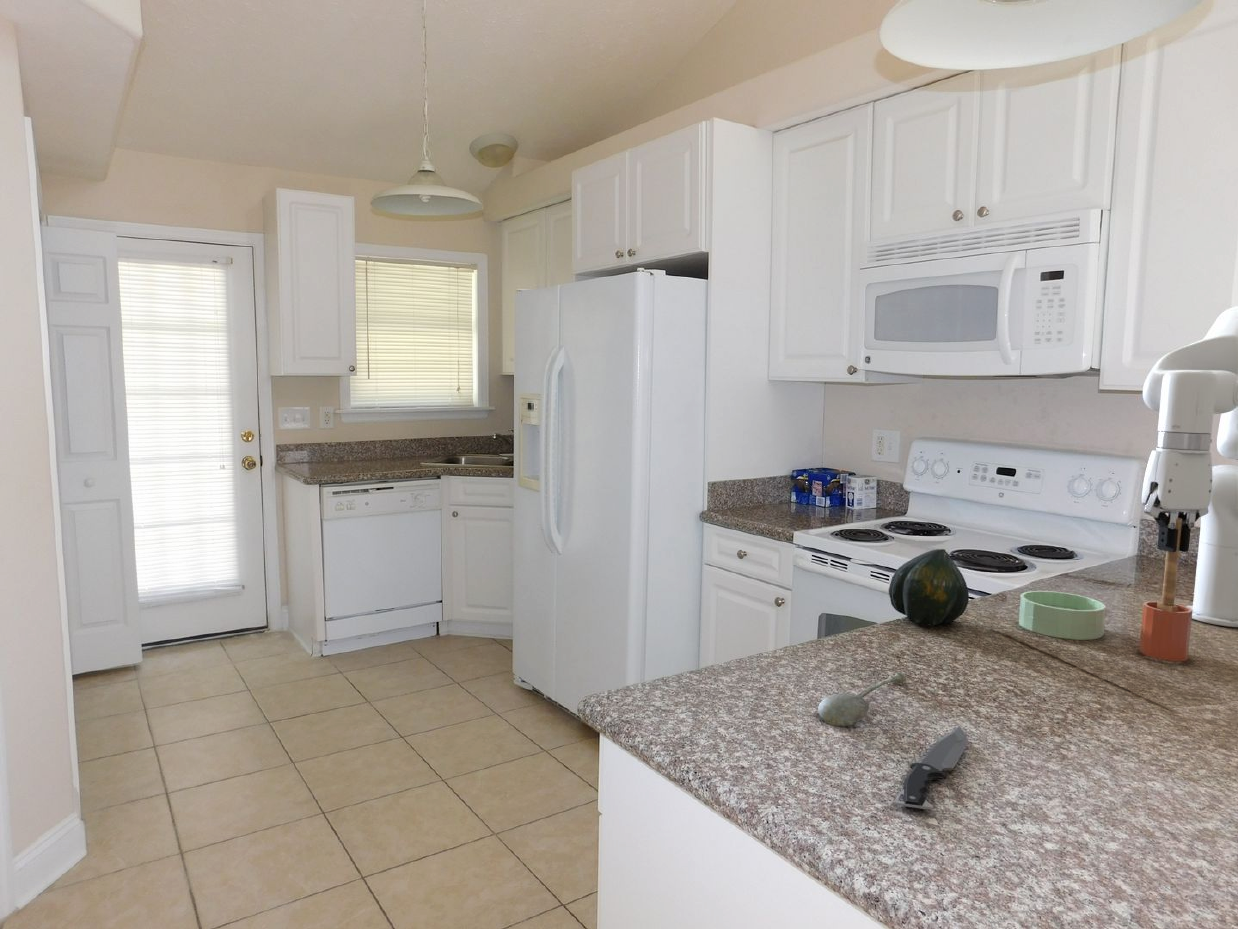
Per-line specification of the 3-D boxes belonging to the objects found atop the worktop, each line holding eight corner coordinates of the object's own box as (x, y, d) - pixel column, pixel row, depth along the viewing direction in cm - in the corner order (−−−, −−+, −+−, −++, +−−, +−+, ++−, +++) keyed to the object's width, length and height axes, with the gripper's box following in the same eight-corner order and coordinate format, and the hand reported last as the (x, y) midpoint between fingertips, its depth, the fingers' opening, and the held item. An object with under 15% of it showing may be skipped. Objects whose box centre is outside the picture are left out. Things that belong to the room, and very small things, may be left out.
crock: (1162, 649, 145) (1166, 600, 144) (1197, 663, 138) (1202, 611, 137) (1129, 651, 143) (1133, 602, 142) (1163, 665, 137) (1168, 613, 136)
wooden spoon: (1154, 618, 141) (1163, 516, 139) (1162, 618, 141) (1172, 516, 140) (1169, 623, 138) (1179, 519, 136) (1178, 623, 139) (1188, 519, 137)
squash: (872, 596, 156) (931, 543, 151) (878, 582, 170) (932, 533, 165) (927, 652, 152) (990, 600, 148) (929, 633, 166) (986, 585, 162)
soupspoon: (807, 721, 112) (851, 738, 108) (809, 698, 111) (853, 715, 107) (881, 676, 128) (921, 689, 123) (883, 656, 127) (923, 668, 123)
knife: (986, 736, 106) (946, 726, 109) (987, 729, 106) (947, 719, 109) (927, 819, 86) (880, 803, 89) (928, 810, 86) (881, 795, 89)
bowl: (1063, 618, 163) (1066, 589, 163) (1121, 641, 149) (1124, 609, 149) (1002, 621, 160) (1004, 592, 159) (1055, 644, 146) (1057, 612, 146)
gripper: (1201, 442, 142) (1190, 545, 144) (1125, 441, 139) (1116, 546, 141) (1242, 445, 135) (1230, 554, 137) (1163, 444, 131) (1153, 556, 133)
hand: (1172, 549), depth 139 cm, fingers closed on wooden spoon, 1 cm apart
